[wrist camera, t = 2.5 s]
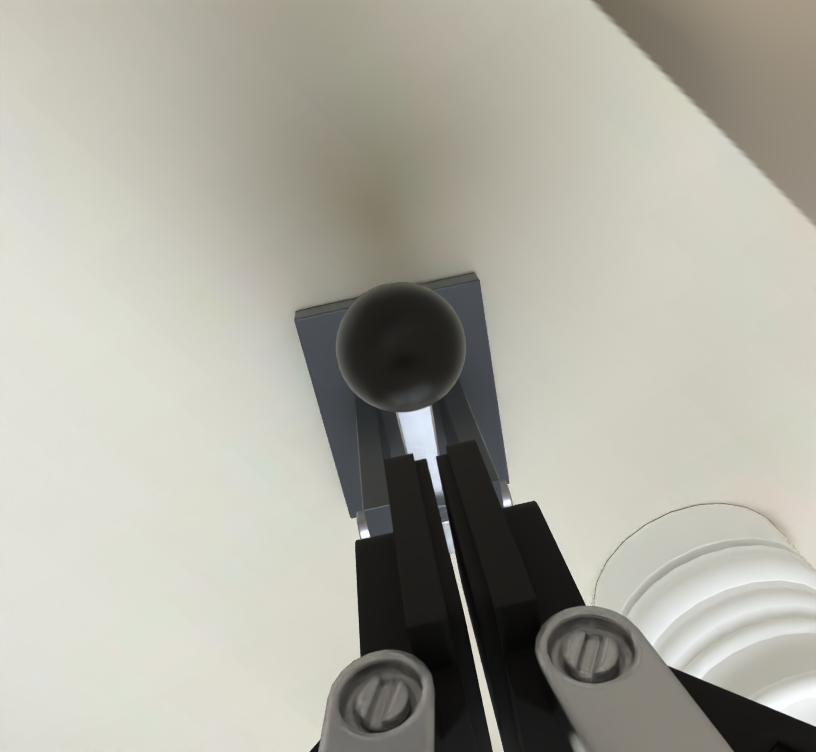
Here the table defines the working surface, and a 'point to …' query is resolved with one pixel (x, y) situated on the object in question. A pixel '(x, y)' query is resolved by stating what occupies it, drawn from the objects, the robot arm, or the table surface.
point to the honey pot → (722, 603)
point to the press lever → (404, 363)
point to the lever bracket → (378, 429)
